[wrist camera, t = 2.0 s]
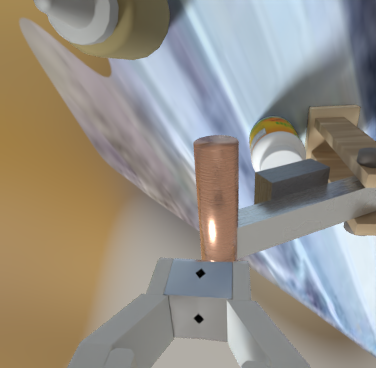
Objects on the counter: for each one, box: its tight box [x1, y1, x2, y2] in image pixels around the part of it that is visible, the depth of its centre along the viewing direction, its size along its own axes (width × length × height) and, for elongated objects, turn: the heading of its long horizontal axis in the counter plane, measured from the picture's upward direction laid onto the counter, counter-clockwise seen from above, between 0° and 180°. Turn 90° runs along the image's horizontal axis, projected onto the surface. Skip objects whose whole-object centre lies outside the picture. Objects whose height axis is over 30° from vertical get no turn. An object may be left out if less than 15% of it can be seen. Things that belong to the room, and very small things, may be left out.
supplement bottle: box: [249, 116, 306, 172], centre depth 31 cm, size 5×5×10 cm
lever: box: [194, 135, 376, 261], centre depth 20 cm, size 10×15×4 cm
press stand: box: [305, 105, 376, 236], centre depth 27 cm, size 7×5×16 cm
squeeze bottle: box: [34, 0, 170, 60], centre depth 24 cm, size 8×8×18 cm
